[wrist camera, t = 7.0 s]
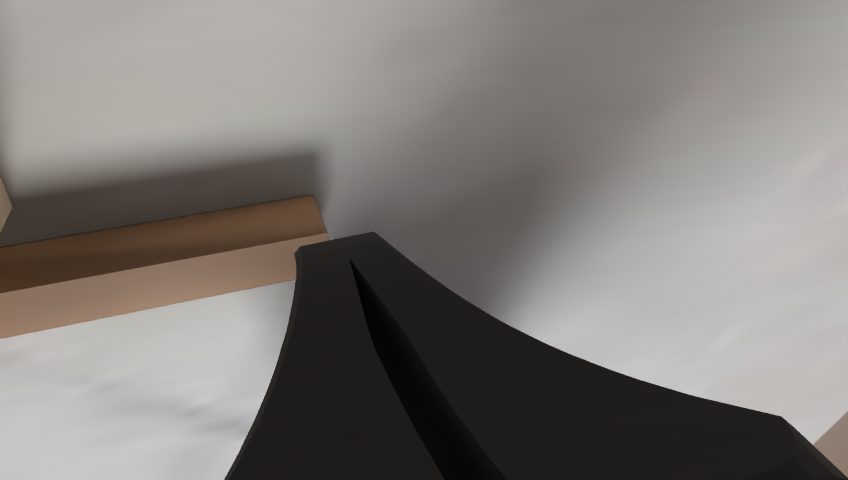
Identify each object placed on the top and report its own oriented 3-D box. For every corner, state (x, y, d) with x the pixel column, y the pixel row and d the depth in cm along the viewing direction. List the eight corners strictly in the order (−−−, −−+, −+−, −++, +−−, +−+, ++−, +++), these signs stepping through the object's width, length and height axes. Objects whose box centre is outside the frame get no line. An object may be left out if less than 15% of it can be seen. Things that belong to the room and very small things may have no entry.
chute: (318, 234, 21) (337, 287, 19) (-175, 325, 18) (-236, 406, 15) (271, -121, 16) (288, -115, 13) (-459, -89, 12) (-630, -73, 10)
